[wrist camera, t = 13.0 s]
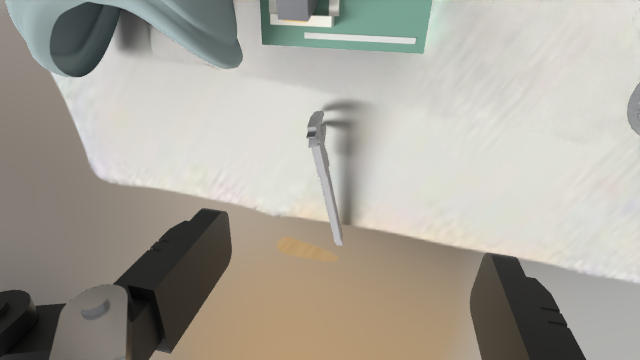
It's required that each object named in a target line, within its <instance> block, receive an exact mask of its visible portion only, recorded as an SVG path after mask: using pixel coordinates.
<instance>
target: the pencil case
mask: <svg viewBox="0 0 640 360" xmlns="http://www.w3.org/2000/svg"><path fill="white" fill-rule="evenodd" d="M5 2H6V4H7V8H8V11H9V15H10V16H11V19H12V20H13V22H14V24H15V26H16V28H17V29H18V31H19V32H20V33H21V35H22V36H23V38H24V39H25V40H26V42H27V45H28V48H29V50H30V52H31V54H32V56H33V58H34V59H35V60H36V61H37V62H38V63H39V64H40V65H41V66H43V67H45V68H46V69H48V70H49V71H51V72H53V73H56V74H58V75H61V76H64V77H82V76H85V75H87V74H88V73H90V72H91V71H92V70H93V69H94V68H95V67H96V66H97V65H98V63H99V62H100V61H101V59H102V57H103V55H104V54H105V52H106V50H107V48H108V46H109V43H110V41H111V38H112V36H113V33H114V30H115V28H116V25H117V22H118V18H119V15H120V11H121V8H123V9H126V10H128V11H130V12H132V13H134V14H136V15H137V16H139V17H141V18H142V19H144V20H145V21H147V22H148V23H150V24H151V25H153V26H154V27H156V28H157V29H159V30H160V31H161V32H163V33H164V34H166V35H167V36H168V37H170V38H171V39H173V40H174V41H175V42H177V43H178V44H179V45H181V46H182V47H184V48H185V49H187V50H188V51H190V52H191V53H193V54H194V55H196V56H198V57H199V58H201V59H202V60H204V61H206V62H208V63H210V64H212V65H214V66H217V67H220V68H225V69H230V68H235V67H238V66H239V64H240V63H241V62H242V60H243V54H242V50H241V47H240V44H239V42H238V39H237V22H236V16H235V9H234V3H233V0H5Z"/></svg>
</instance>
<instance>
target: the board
mask: <svg viewBox="0 0 640 360" xmlns="http://www.w3.org/2000/svg"><path fill="white" fill-rule="evenodd" d="M431 5H432V0H318V6H317V7H316V9H315V11H314V12H313V14H312V16H311V18H310V19H309V21H307V22H306V23H305V22H290V21H283V20H278V15H277V4H276V0H260V9H261V31H262V44H263V45H281V46H299V47H316V48H334V49H351V50H369V51H386V52H404V53H421V54H423V53H424V47H425V41H426V35H427V29H428V23H429V17H430V11H431Z"/></svg>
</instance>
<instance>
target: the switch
mask: <svg viewBox="0 0 640 360" xmlns="http://www.w3.org/2000/svg"><path fill="white" fill-rule="evenodd" d="M276 4H277V15H278V20H283V21H290V22H305V23H306V22H307V21H309V19H310V18H311V16H312V14H313V12H314V11H315V9H316V7H317V6H318V0H276Z"/></svg>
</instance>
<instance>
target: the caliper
mask: <svg viewBox="0 0 640 360" xmlns="http://www.w3.org/2000/svg"><path fill="white" fill-rule="evenodd" d="M323 116H324V112H323V111H317V112H315V113H314V114H313V115H312V116H311V118H310V120H309V123H308V127H307V129H308V134H307V137H306V138H307V139H309V148H310V147H312V152H313V156H314V160H315V164H316V168H317V173H318V177H320V181H321V185H322V190H323V194H324V198H325V203H326V207H327V211H328V216H329V220H330V224H331V228H332V233H333V237H334V241H335V243H336V245H343V240H342V231H341V226H340V221H339V216H338V211H337V207H336V202H335V197H334V192H333V187H332V183H331V178H330V173H329V160H328V156H327V151H326V149H325V145H324V142H325V134H326V123H324V124H321V123H322V119H323Z"/></svg>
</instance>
